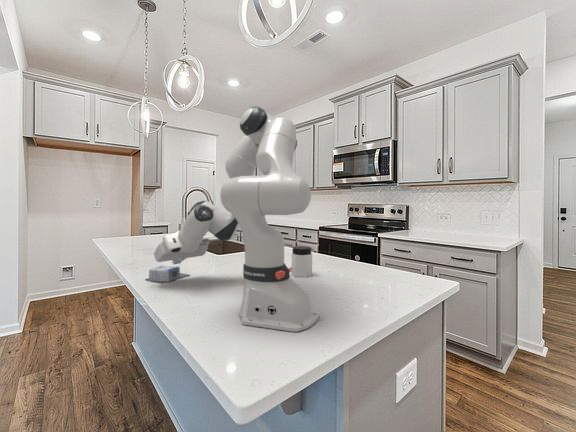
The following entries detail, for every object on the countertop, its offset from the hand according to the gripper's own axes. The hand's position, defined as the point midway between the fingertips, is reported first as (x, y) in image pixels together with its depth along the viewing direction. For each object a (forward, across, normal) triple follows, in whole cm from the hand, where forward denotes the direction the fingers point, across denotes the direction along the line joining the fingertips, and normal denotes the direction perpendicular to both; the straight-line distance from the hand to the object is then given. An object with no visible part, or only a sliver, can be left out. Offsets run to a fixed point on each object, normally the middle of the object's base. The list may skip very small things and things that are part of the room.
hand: (176, 262), depth 119 cm
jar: (-17, -41, +27) cm, 52 cm away
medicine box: (+2, +1, +4) cm, 5 cm away
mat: (+8, +1, +1) cm, 8 cm away
